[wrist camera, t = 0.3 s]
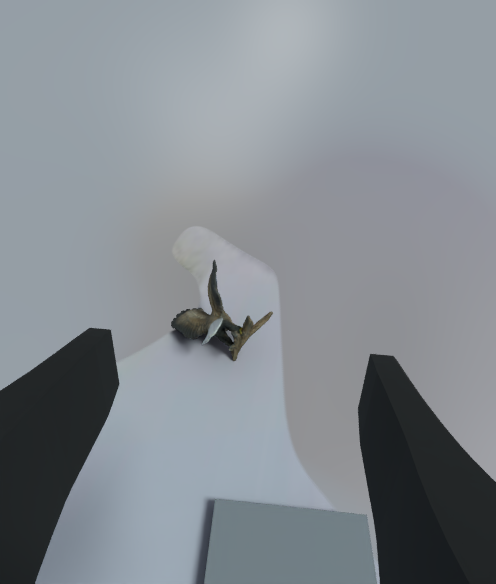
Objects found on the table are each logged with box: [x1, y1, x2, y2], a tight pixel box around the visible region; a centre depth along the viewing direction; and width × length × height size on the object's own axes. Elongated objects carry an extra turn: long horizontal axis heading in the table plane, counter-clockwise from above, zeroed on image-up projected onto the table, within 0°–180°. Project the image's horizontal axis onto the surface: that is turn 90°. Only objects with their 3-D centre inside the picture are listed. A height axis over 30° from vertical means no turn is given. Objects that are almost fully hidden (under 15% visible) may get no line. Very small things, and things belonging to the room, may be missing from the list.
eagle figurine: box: [171, 260, 273, 361], centre depth 43 cm, size 8×7×9 cm
